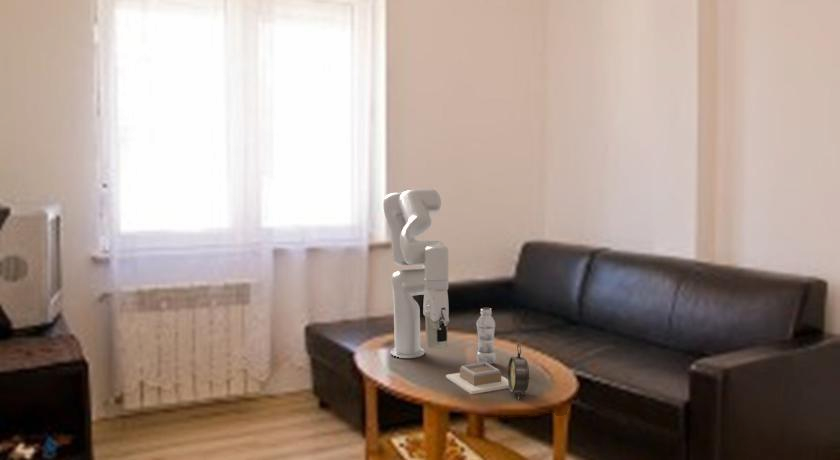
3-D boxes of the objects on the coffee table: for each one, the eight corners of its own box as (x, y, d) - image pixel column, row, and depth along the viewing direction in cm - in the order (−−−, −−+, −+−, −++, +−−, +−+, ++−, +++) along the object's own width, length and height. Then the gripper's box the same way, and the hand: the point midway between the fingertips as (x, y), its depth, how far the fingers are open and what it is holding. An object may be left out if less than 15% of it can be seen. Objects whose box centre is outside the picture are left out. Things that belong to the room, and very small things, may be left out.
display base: (446, 377, 251) (446, 363, 250) (488, 371, 257) (488, 357, 257) (471, 394, 235) (471, 379, 234) (515, 386, 241) (515, 372, 240)
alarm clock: (506, 389, 239) (507, 339, 237) (523, 388, 239) (524, 339, 237) (514, 401, 228) (514, 349, 226) (531, 400, 228) (532, 348, 226)
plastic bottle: (494, 367, 261) (494, 311, 259) (475, 366, 262) (475, 310, 260) (496, 362, 267) (496, 307, 265) (477, 361, 269) (477, 306, 266)
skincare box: (448, 346, 243) (448, 309, 241) (444, 350, 239) (444, 313, 237) (429, 344, 245) (429, 308, 243) (425, 348, 241) (424, 311, 239)
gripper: (414, 279, 245) (415, 332, 248) (437, 290, 230) (437, 346, 232) (435, 277, 248) (435, 329, 251) (459, 288, 233) (459, 343, 235)
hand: (436, 337), depth 242 cm, fingers closed on skincare box, 7 cm apart
